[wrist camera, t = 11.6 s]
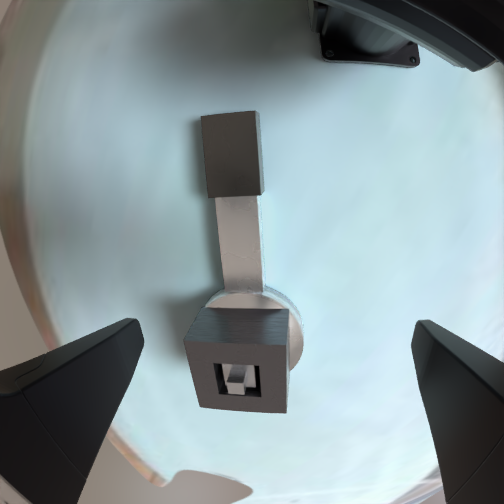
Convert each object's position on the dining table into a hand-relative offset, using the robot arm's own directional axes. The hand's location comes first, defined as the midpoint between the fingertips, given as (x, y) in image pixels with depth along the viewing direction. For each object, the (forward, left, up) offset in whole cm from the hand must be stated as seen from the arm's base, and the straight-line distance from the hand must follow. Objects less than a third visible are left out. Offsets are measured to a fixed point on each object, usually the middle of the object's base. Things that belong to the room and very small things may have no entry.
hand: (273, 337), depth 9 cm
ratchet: (+3, +2, -12) cm, 13 cm away
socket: (+3, +8, -10) cm, 13 cm away
